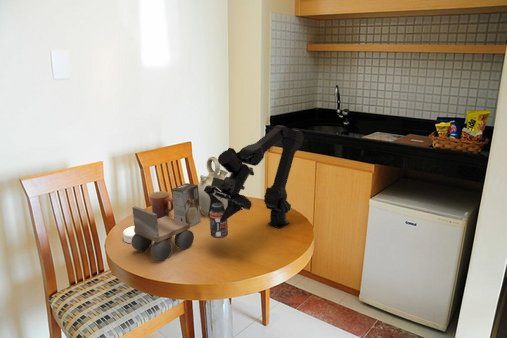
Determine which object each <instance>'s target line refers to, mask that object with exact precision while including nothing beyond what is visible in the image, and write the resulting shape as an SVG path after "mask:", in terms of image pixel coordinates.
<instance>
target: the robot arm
mask: <svg viewBox="0 0 507 338" xmlns="http://www.w3.org/2000/svg"><path fill="white" fill-rule="evenodd" d="M304 139H305V136H304V133H303V132H302V130H298V129H292V128H289V127H287V126H286V125H285V126H284V125H274V127H273V128H272V129H271V130H270V131H269V132H268V133H266V134H265V135H264V136H262V137H261V138H260V139H259V140H258V141H257V142H254V143H251V144H248V145H246V146H243V147H242V148H241V149H240V151H238V152H237V151H236V150H235V149H234V148H232V147H228V148H227V150H224V151H222V152H221V153H220V154H219V156H218V158H217V159H218V162H219V164H220V167H223V168H224V170H225V171H226V172H228V173H229V174H230V175H229V176H225V179H224V180H223V179H219V178H215V177H213V180H212V184H211V186H210V185H208V186H206V187H205V189H204V192H206V193H207V194H208V195H209V196H210V208H209V213H208V216H209V218H210V211H211V210H212V204H214V203H223V202H221V201H220V199H221V198H224V199H227V200H228V206H227V208H226V210H225V212H224V214H223V216H222V218H221V221H222V222H224V221H225V220H226V219H227V220H228V219H229V218H231V217H232V216H233V215H235V214H236V213H238V212H240V211H243V210H247V211H250V210H251V207H252V201H251V200H250V199H249V198H248V197H247V196H246V195H243V194H240V192H241V190H243V191H244V190H245V189H246V187H245V186H244V185H245V183H246V181H247V179H248V178H249V176H254V175H255V173H254V169H253V167H250V166H258V165H259V164H260V163H261V162H262V160H263V159H264V158H265V153H266V152H268V151H269V150H270V149H272V147H273V146H275V145H276V144H277V143H278V142H279V141H280V144H281V147H282V150H281V155H280V158H279V162H278V166H277V169H276V173H275V177H274V180H273V183H272V185H271V186H270V187H267V188H266V189H265V193H264V195H263V198H264V199H263V201H264V204H265V207H266V209H267V210H270V216H269V217H270V219H269V220H270V221H269V222H267V224H268V225H269V226H272V227H275V228H278V229H282V228H283V227H285V226H287V225H288V224H290V221H288V220H287V214H288V213H289V212H290V211H291V209H292V204H290V203H289V202H288V201H287V200H288V194H287V193H288V192H287V189H286V186H287V183H288V180H289V176H290V175H289V174H290V172H291V168H292V165H293V161H294V157H295V154H296V152H297V151H299V149H301V147H302V145H303V142H304ZM248 165H249V166H248ZM216 187H217V188H218V189H219V190H221V191H219V190H218V189H217V188H216ZM229 197H230V198H229ZM208 216H207V217H208Z"/></svg>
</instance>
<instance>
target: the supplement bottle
mask: <svg viewBox="0 0 507 338" xmlns="http://www.w3.org/2000/svg"><path fill="white" fill-rule="evenodd" d="M224 212H225V209H224V204H222V203H214V204H212V210H211V211H210V217H209V228H210V229H209V230H210V237H211V238H213V239H218V240H219V239H220V240H221V239H224V238H227V236H228V234H229V233H228V232H229V227H228V225H229V224H228V219H226V220H225V221H224V222H222V221H221V218H222V216H223V214H224Z"/></svg>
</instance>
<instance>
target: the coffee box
mask: <svg viewBox="0 0 507 338" xmlns="http://www.w3.org/2000/svg"><path fill="white" fill-rule="evenodd" d="M171 195H172V198H171V199H173V216H174V217H173V218H174V219H176V220H179V221H182V222H185V223H187V224H189V226H190V228H191V227H193V226H194V225H196V224H198V223H200V222H201V208H200V205H199V193H198V184H194V183H187V182H186V183H183V184H180V185H179V186H176V187H174V188H172V189H171Z"/></svg>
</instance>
